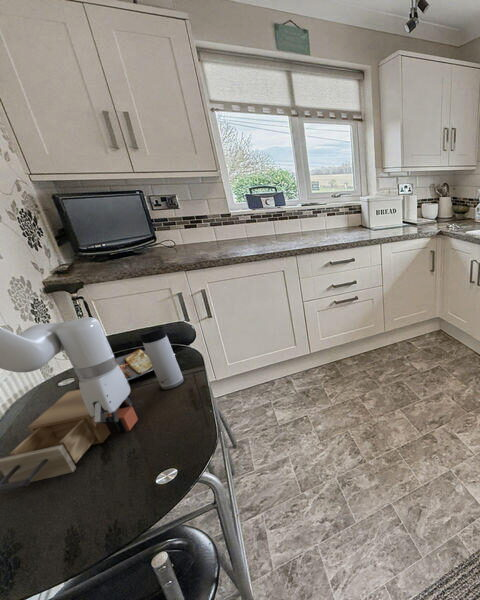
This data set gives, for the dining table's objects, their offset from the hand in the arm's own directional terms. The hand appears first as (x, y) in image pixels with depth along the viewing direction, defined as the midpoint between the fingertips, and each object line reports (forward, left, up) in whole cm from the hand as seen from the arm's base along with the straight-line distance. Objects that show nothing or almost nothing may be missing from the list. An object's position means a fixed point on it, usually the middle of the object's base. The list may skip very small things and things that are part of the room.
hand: (124, 425), depth 86 cm
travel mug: (+11, +17, -2) cm, 21 cm away
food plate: (-2, +38, -2) cm, 38 cm away
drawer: (-13, -6, -1) cm, 14 cm away
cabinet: (-8, +7, -1) cm, 11 cm away
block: (0, 0, 0) cm, 0 cm away
